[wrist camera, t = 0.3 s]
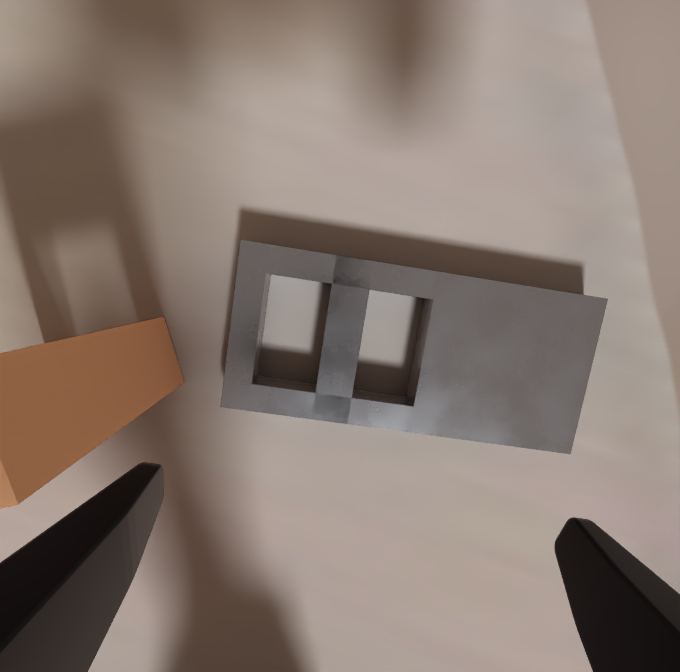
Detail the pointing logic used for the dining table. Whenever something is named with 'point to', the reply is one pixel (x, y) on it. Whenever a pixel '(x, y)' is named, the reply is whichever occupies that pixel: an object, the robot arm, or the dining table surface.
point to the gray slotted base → (425, 352)
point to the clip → (76, 398)
